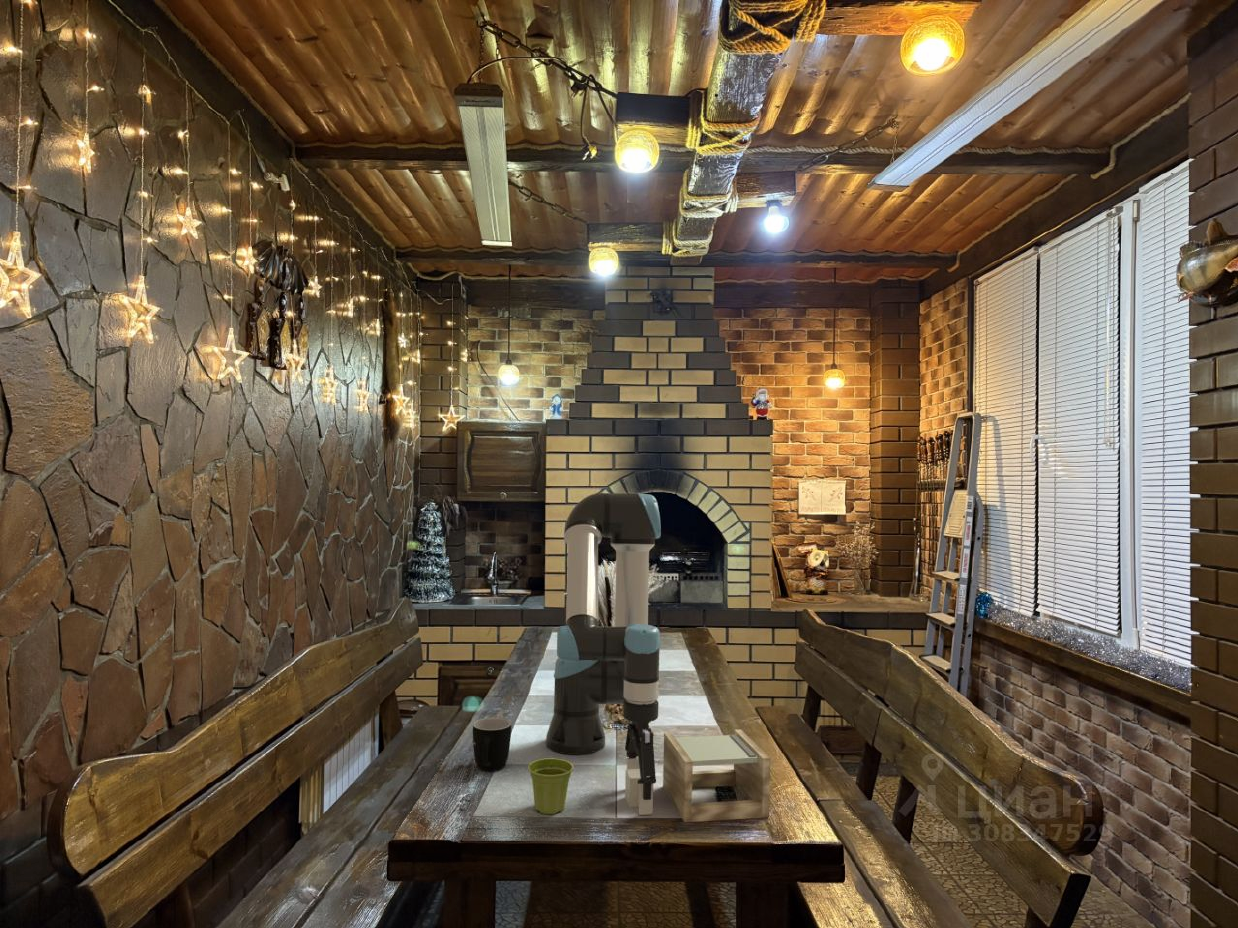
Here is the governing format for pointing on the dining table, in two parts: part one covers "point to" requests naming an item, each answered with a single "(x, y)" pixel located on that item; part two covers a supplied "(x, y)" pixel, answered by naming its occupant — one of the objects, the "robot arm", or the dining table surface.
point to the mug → (491, 743)
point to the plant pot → (550, 783)
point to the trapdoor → (716, 750)
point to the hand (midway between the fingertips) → (638, 800)
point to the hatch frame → (716, 784)
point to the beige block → (632, 787)
